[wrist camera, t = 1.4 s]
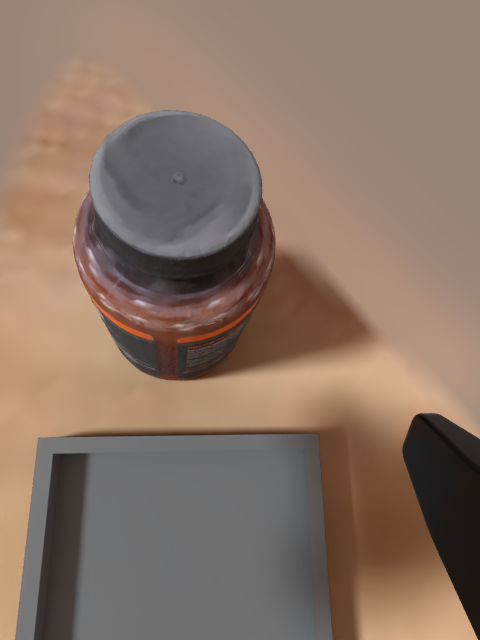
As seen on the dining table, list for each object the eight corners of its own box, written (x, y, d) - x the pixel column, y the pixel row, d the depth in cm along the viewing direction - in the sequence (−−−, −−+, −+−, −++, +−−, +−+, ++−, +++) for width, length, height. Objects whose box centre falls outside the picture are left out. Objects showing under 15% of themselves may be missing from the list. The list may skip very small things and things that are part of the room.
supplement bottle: (259, 303, 21) (349, 156, 11) (197, 407, 19) (228, 357, 9) (157, 242, 21) (143, 35, 11) (85, 339, 19) (-21, 207, 9)
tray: (323, 733, 16) (341, 766, 15) (15, 772, 15) (-6, 814, 13) (305, 434, 20) (318, 433, 18) (50, 438, 18) (38, 437, 16)
